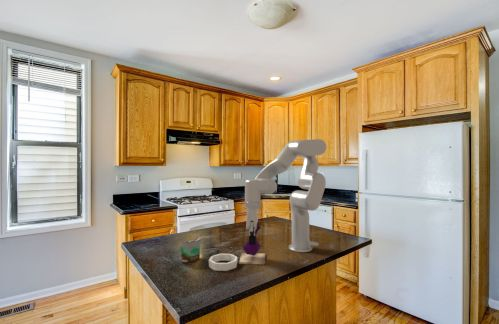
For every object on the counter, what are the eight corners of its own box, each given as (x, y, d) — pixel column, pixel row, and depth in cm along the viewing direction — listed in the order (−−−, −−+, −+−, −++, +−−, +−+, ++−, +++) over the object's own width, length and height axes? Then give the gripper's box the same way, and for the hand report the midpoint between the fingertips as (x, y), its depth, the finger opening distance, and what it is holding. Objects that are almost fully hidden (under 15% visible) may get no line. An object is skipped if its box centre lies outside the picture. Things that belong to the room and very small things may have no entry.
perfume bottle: (260, 253, 127) (263, 216, 128) (257, 257, 119) (261, 218, 121) (245, 250, 128) (249, 214, 130) (242, 254, 121) (245, 216, 122)
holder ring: (238, 260, 123) (238, 254, 123) (235, 271, 110) (235, 264, 111) (212, 259, 124) (212, 253, 124) (206, 270, 111) (206, 263, 111)
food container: (189, 266, 115) (189, 244, 115) (179, 264, 119) (179, 242, 119) (207, 258, 126) (207, 237, 126) (198, 255, 129) (198, 235, 129)
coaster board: (265, 255, 130) (265, 253, 130) (264, 264, 118) (264, 262, 118) (241, 254, 131) (241, 252, 131) (239, 263, 119) (239, 262, 119)
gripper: (246, 202, 133) (246, 237, 133) (243, 207, 116) (243, 247, 116) (260, 202, 133) (260, 237, 132) (259, 207, 116) (259, 248, 115)
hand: (252, 241), depth 124 cm, fingers closed on perfume bottle, 5 cm apart
